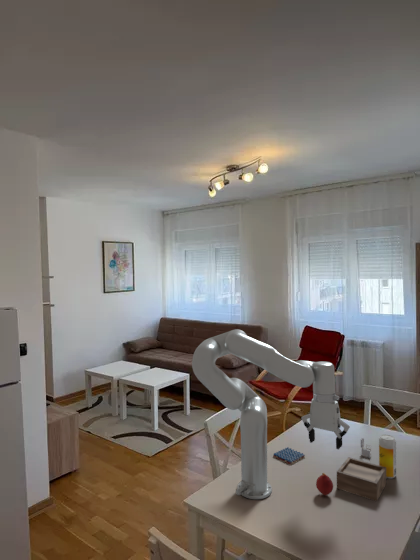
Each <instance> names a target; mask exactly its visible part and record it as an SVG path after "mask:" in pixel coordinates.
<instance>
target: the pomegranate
mask: <svg viewBox="0 0 420 560" xmlns="http://www.w3.org/2000/svg"><path fill="white" fill-rule="evenodd" d="M315 482H316V483H315V484H316V485H315V487H316V488H317V490H318V492H319V493H320V494H321V495H322V496H324V497H325V496H328V495H330V494H331V493H332V491H333V488H334V484H333V483H334V482H333V481H332V479H331V478H330V477H329V476H328V475H327V474H326V473H325V472H322V474H321V475H319V477H317V479H316V481H315Z"/></svg>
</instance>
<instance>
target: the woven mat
mask: <svg viewBox="0 0 420 560" xmlns="http://www.w3.org/2000/svg"><path fill="white" fill-rule="evenodd" d="M272 457H273V458H275V459H277V460H279V461H281V462H284V463H285V464H288V465H290V466H293V464H294V465H295V464H296V463H297V462H299V461H302V460H304V459H305V458H306V456H305V454H304V453H303V452H302V453H301V452H300V451H298V450H295V449H292V448H291V447H289V446H287V447H285V448H282V449H280V450H278V451H276V452H274V453H273V456H272Z"/></svg>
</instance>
